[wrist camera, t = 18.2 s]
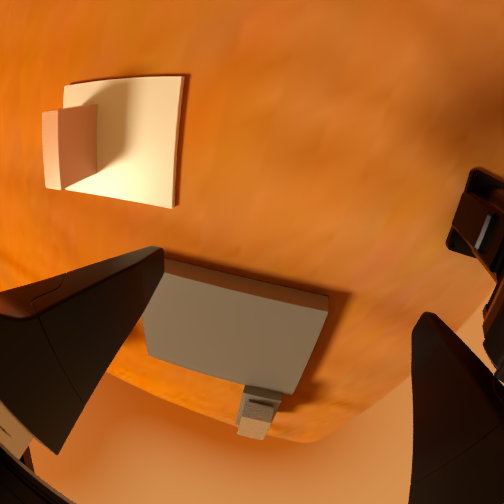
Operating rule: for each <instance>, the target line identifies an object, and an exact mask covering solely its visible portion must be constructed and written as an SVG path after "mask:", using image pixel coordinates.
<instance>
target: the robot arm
mask: <svg viewBox="0 0 504 504" xmlns="http://www.w3.org/2000/svg"><path fill="white" fill-rule="evenodd" d="M475 174H477V177H476V178H474V175H475ZM451 242H453V244H452V245H450V244H451ZM446 246H447V248H448V249H449V250H451V251H454V252H458V253H461V254H464V255H467V256H470V257H473V258H477V259H478V260H479V261H480V262H481V264H482V265H483V266H484V267H485V269H486V270H487V271H488V273H489V274H490V275H491V277H492V278H493V279H494V281H495V282H496V283H497V284H496V287H495V289H494V291H493V294H492V296H491V298H490V300H489V302H488V304H486V305H485V307H484V309H483V317H484V322H483V332H484V338H485V340H484V342H483V346H484V349H485V351H486V353H487V355H488V357H489V359H490V360H491V362H492V364H493V365H494V367H495V368H496V369H497V371H496V372H495V373H494V376H493V373H492V372H491V371H490V370H489V369H488V368H487V367H486V366H485V365H484V363H483V362H482V361H481V360H480V359H479V358H478V357H477V356H476V355H475V354H474V353H473V352H472V351H471V349H470V348H469V347H468V346H467V345H466V344H465V343H464V342H463V341H462V340H461V339H460V338H459V337H458V336H457V335H456V334H455V333H454V332H453V331H452V330H451V329H450V328H449V327H448V326H447V325H446V324H445V323H444V322H443V321H442V320H441V319H440V318H439V317H438V316H437V315H436V314H434V313H431V312H424V313H423V314H422V315H421V317H420V319H419V320H418V322H417V324H416V325H415V327H414V329H413V331H412V362H411V375H412V390H413V391H412V393H413V459H412V474H411V485H410V493H409V502H408V504H504V386H503V385H502V384H501V382H500V381H502V382H503V383H504V183H503V182H501V181H499V180H497V179H495V178H493V177H491V176H489V175H487V174H485V173H483V172H481V171H479V170H477V169H472V170H471V171H470V173H469V177H468V180H467V183H466V187H465V190H464V193H463V194H462V196H461V199H460V202H459V205H458V208H457V211H456V213H455V216H454V219H453V222H452V227H451V230H450V232H449V235H448V237H447V240H446ZM164 271H165V261H164V250H163V249H162V248H160V247H156V246H149V247H146V248H143V249H139V250H136V251H133V252H130V253H126V254H123V255H120V256H117V257H113V258H110V259H107V260H104V261H101V262H98V263H94V264H91V265H88V266H85V267H82V268H79V269H76V270H73V271H70V272H67V274H66V273H64V274H61V275H58V276H55V277H52V278H48V279H45V280H42V281H38V282H35V283H31V284H28V285H24V286H20V287H17V288H13V289H9V290H6V291H2V292H0V504H76V503H74V502H73V501H71V500H70V499H68V498H66V497H65V496H64V495H62V494H61V493H59V492H58V491H57V490H55V489H54V488H53V487H51V486H50V485H49V484H47V483H46V482H45V481H43V480H42V479H41V478H40V477H38V476H37V475H36V474H35V472H34V468H33V464H32V459H31V454H30V449H29V446H28V445H29V444H30V442H31V441H32V439H33V438H35V439H36V440H37V441H39V442H40V443H41V444H42V445H44V446H45V447H46V448H47V449H49V450H50V451H51V452H53V453H54V454H56V455H58V454H59V452H60V450H61V448H62V446H63V445H64V443H65V441H66V439H67V437H68V435H69V434H70V432H71V430H72V428H73V426H74V425H75V423H76V421H77V419H78V418H79V416H80V414H81V412H82V411H83V409H84V407H85V405H86V403H87V402H88V400H89V398H90V396H91V395H92V393H93V391H94V389H95V388H96V386H97V385H98V383H99V381H100V380H101V378H102V376H103V375H104V373H105V371H106V370H107V368H108V367H109V365H110V363H111V362H112V360H113V359H114V357H115V355H116V354H117V352H118V351H119V349H120V348H121V346H122V344H123V343H124V341H125V340H126V338H127V337H128V335H129V334H130V332H131V330H132V329H133V327H134V326H135V324H136V323H137V321H138V320H139V318H140V317H141V315H142V314H143V312H144V311H145V309H146V307H147V305H148V304H149V302H150V300H151V298H152V296H153V294H154V292H155V290H156V288H157V286H158V284H159V282H160V281H161V279H162V277H163V275H164ZM499 380H500V381H499Z"/></svg>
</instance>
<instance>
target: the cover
mask: <svg viewBox="0 0 504 504" xmlns="http://www.w3.org/2000/svg"><path fill="white" fill-rule="evenodd" d="M184 79H185V77H182V76H161V77H137V78H123V79H112V80H102V81H94V82H87V83H80V84H74V85H68V86H64V101H63V108H62V109H56V110H51V111H46V112H42V140H43V161H44V174H45V184H46V188H51V189H57V190H63V189H65V188H66V190H71V191H77V192H83V193H89V194H95V195H101V196H106V197H112V198H118V199H123V200H129V201H134V202H140V203H145V204H150V205H156V206H161V207H166V208H171V209H172V208H173V207H175V183H176V165H177V150H178V137H179V125H180V114H181V105H182V96H183V87H184Z"/></svg>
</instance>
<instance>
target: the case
mask: <svg viewBox="0 0 504 504" xmlns="http://www.w3.org/2000/svg"><path fill="white" fill-rule="evenodd" d="M164 261H165V271H164V275H163V277H162V279H161V281H160V282H159V284H158V286H157V288H156V290H155V292H154V294H153V296H152V298H151V300H150V302H149V304H148V305H147V307H146V309H145V311H144V312H143V314H142V322H143V328H144V334H145V340H146V345H147V351H148V355H149V356H152V357H155V358H157V359H160V360H163V361H166V362H169V363H172V364H175V365H178V366H181V367H184V368H187V369H190V370H193V371H196V372H200V373H203V374H206V375H210V376H213V377H217V378H220V379H224V380H227V381H231V382H235V383H239V384H243V385H245V388H244V391H243V395H242V399H241V404H240V408H239V412H238V417H237V421H236V424H238V425H239V424H240V421H241V417H242V413H243V410H244V406H245V403H246V401H248V402H253V403H257V404H261V405H266V406H271V407H274V411H273V416H272V421H273V419H274V416H275V414H276V412H277V410H278V408H279V406H280V403H281V401H282V396H283V394H288V395H293V393H294V391H295V388H296V386H297V384H298V382H299V380H300V378H301V376H302V373H303V371H304V369H305V367H306V365H307V362H308V360H309V358H310V356H311V353H312V351H313V349H314V346H315V344H316V342H317V339H318V337H319V334H320V332H321V330H322V327H323V325H324V322H325V320H326V317H327V315H328V312H329V307H328V296H325V295H320V294H316V293H311V292H307V291H302V290H298V289H293V288H289V287H284V286H280V285H275V284H271V283H267V282H262V281H258V280H254V279H249V278H245V277H241V276H237V275H232V274H228V273H224V272H220V271H216V270H212V269H208V268H204V267H200V266H196V265H192V264H188V263H184V262H180V261H176V260H172V259H168V258H164ZM272 421H271V423H272ZM270 425H271V424H270ZM269 427H270V426H269ZM268 429H269V428H268ZM267 431H268V430H267Z"/></svg>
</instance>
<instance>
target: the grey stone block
mask: <svg viewBox="0 0 504 504" xmlns="http://www.w3.org/2000/svg"><path fill="white" fill-rule="evenodd" d="M273 411H274V407H271V406H266V405H261V404H257V403H253V402H248V401H246V403H245V406H244V410H243V413H242V417H241V421H240V424H239V428H238V432H237V435H241V436H246V437H250V438H254V439H259V440H263V439H264V437H265V435H266V432H267V430H268V428H269V426H270V424H271V421H272V416H273Z"/></svg>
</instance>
